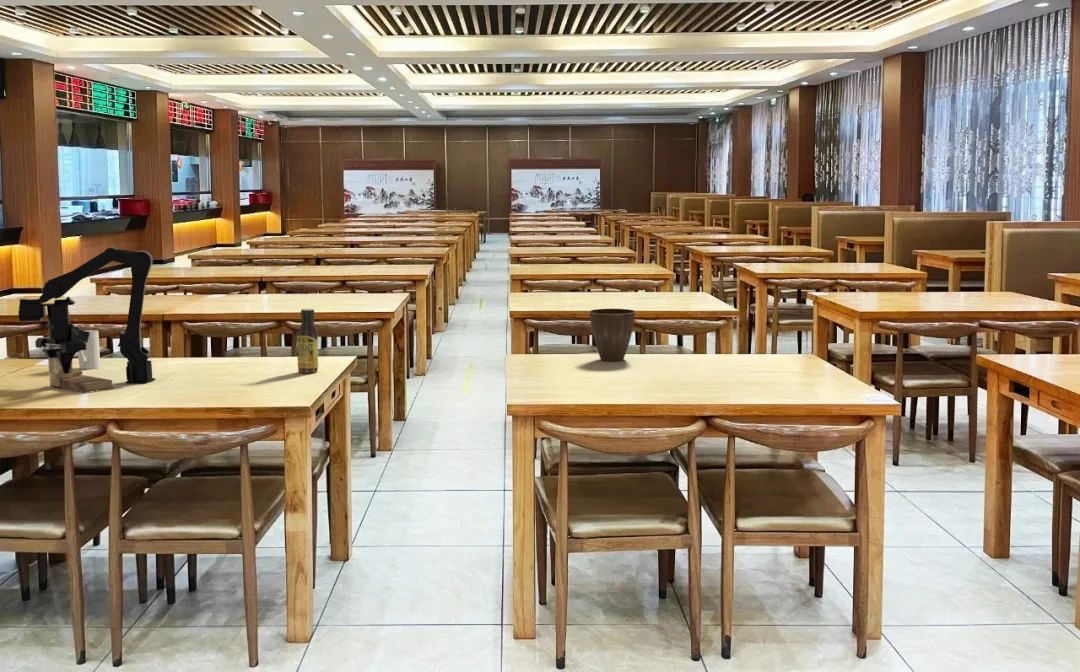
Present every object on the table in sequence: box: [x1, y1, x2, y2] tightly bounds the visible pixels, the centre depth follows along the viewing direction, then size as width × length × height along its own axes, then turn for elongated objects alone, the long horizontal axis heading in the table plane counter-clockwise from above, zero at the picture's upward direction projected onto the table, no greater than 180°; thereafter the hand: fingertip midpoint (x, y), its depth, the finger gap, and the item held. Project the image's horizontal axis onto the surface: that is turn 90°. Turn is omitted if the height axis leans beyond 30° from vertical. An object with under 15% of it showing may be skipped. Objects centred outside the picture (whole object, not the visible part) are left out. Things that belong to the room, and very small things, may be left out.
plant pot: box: [589, 308, 636, 362], centre depth 354 cm, size 15×15×16 cm
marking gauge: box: [47, 357, 83, 388], centre depth 323 cm, size 4×9×8 cm, turn 142°
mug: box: [77, 329, 101, 370], centre depth 353 cm, size 10×7×12 cm, turn 0°
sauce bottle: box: [297, 308, 319, 374], centre depth 339 cm, size 6×6×20 cm
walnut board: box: [56, 374, 113, 393], centre depth 320 cm, size 20×8×3 cm, turn 52°
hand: (62, 372), depth 322 cm, fingers closed on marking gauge, 4 cm apart
